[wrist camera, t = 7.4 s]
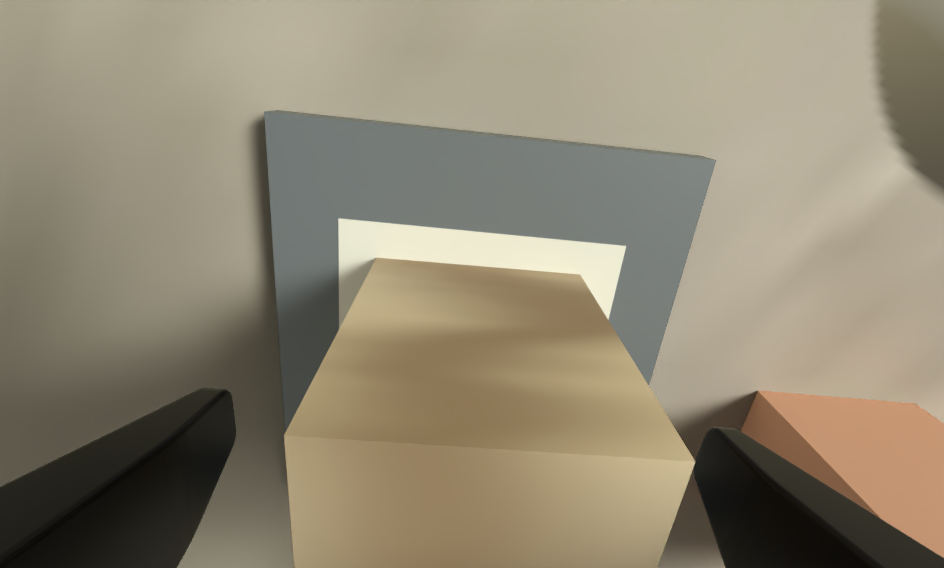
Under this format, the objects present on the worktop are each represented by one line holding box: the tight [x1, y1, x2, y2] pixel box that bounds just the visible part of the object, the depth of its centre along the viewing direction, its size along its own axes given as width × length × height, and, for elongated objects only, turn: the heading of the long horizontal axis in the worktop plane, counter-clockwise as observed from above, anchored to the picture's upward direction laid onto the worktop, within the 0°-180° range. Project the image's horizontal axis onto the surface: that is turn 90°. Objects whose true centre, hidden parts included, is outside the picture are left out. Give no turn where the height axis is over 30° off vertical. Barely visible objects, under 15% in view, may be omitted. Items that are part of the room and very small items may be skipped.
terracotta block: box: [741, 391, 944, 558], centre depth 10 cm, size 4×4×5 cm
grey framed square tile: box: [264, 110, 716, 432], centre depth 10 cm, size 8×9×1 cm
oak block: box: [284, 258, 695, 568], centre depth 8 cm, size 4×4×5 cm
